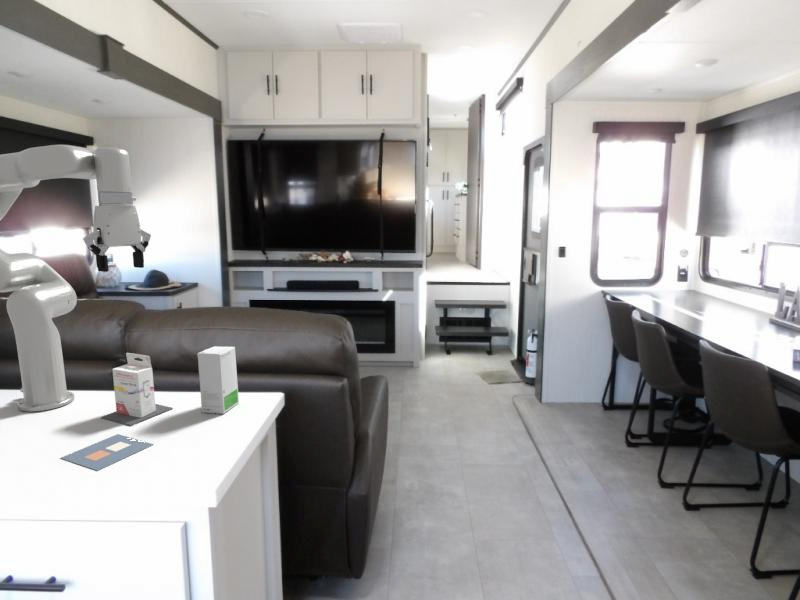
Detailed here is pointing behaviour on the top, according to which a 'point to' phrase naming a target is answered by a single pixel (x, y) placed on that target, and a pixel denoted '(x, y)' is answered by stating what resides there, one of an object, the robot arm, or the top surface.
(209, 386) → the skincare box
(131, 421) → the rubber mat
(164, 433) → the top surface
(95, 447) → the tile
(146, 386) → the ink cartridge box
